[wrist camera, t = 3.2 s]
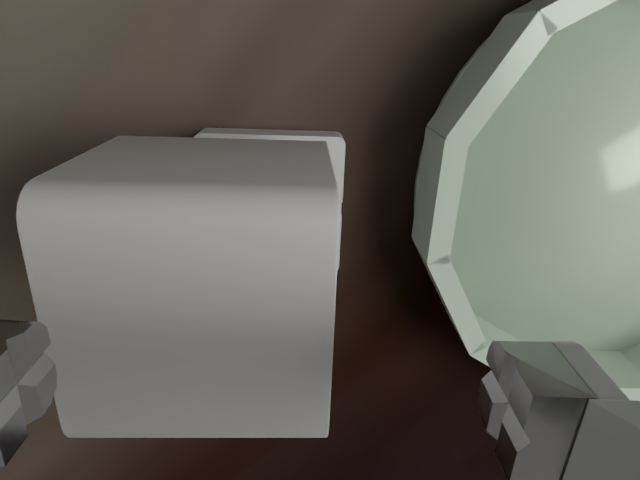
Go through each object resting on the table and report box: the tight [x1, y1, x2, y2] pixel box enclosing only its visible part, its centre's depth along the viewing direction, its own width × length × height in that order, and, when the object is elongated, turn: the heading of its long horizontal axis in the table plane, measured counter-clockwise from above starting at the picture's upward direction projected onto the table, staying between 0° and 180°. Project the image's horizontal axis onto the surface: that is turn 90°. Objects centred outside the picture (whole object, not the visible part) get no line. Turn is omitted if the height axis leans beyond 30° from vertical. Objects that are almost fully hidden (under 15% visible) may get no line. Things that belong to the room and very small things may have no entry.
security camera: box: [16, 128, 346, 438], centre depth 15 cm, size 6×7×10 cm
